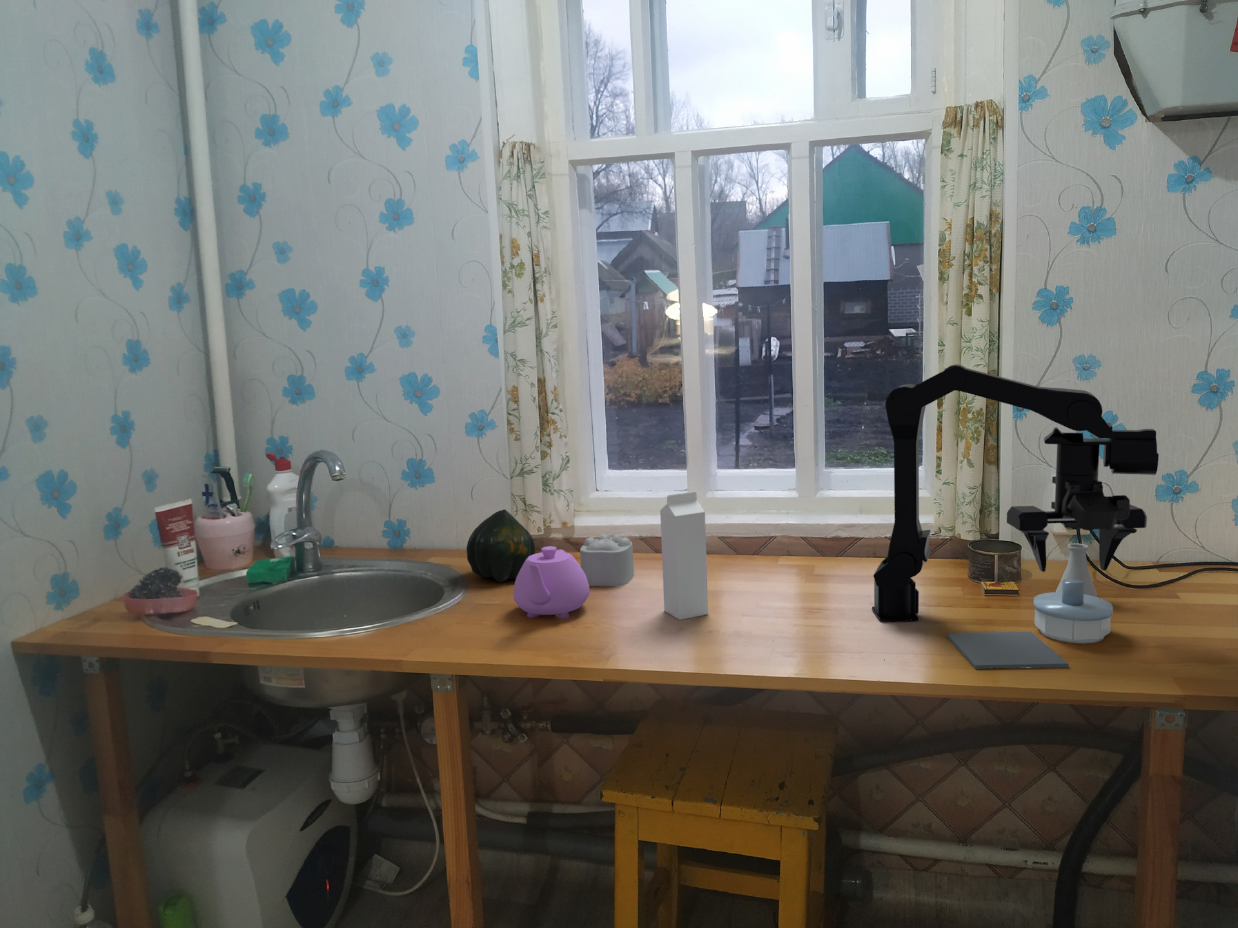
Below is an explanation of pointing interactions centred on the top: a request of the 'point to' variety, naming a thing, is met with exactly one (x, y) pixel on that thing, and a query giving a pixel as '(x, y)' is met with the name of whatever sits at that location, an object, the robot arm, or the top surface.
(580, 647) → the top surface
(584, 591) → the teapot
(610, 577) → the grey lumpy-topped tub
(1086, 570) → the flask
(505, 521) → the squash
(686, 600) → the milk
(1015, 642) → the plate
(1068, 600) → the lid
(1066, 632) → the bowl
